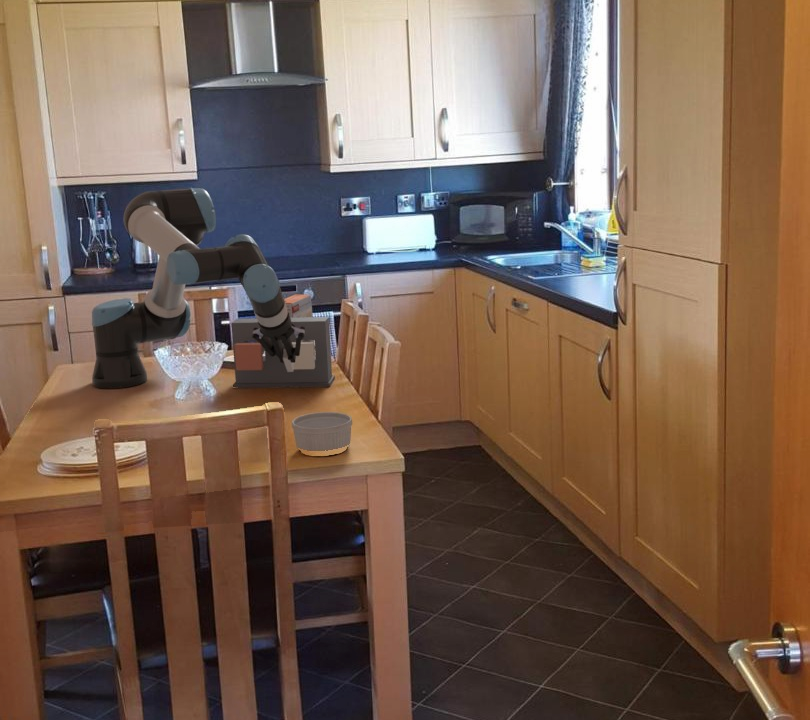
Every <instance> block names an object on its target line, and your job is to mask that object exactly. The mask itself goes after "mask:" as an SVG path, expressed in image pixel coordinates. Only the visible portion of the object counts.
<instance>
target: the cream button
mask: <svg viewBox="0 0 810 720" xmlns="http://www.w3.org/2000/svg"><path fill="white" fill-rule="evenodd" d="M292 345H293V348H294V347H295V346H296V342H292ZM314 351H315V341H314V342H311V341H309V340H305V341H303V342H301V346H300V354H299V356H296V360H295V363H294V369H314V368H315V355H316V354H315V355H314Z"/></svg>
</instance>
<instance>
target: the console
mask: <svg viewBox="0 0 810 720" xmlns="http://www.w3.org/2000/svg"><path fill="white" fill-rule="evenodd" d="M291 322H292V323H293V324H294V325H295V327H296V328H300V327H305V333H304V338H303V339H302V340H314V345H315V368H314V369H294V370H293V372H287V369H286V366H285V363H281V362H280V359H279V357H278V356H276V355H275V356H273V357H272V356H270V355H269V354H268V352H267V351H266V350H265V352H264V355H263V366H264V368H263V369H262V370H236V360H235V347H234V345H235V344H236V343H251V342H254V341H257V340H255V339H254V338H252V336H253V329H254V328H258V329H259V328H260V326H259V324H258V321H257V319H256V317H254V318H236V319H235V320H232V321H231V323H230V324H231V325H230V326H231V338H232V339H231V341H232V351H233V364H234V376H235V377H234V378H235V381H234V382H233V384H232V388H233V387H238V388H237V389H261V388H262V389H266V388H271V389H272V388H273V389H274V388H276V389H277V388H280V389H281V388H330V387H331V386H332V384H333V382H334V380H335V379H336V376H335V375H334V374H333V367H332V353H331V352H332V350H331V331H330V316H319V317H318V316H316V317H315V316H314V317H313V316H312V317H302V318H291ZM269 339H270V338H269ZM290 339H291V342H296V336H295V333H293V334H292V335H291V336H290ZM270 340H271V339H270ZM281 343H282V341H281ZM282 346H284V344H283V343H282ZM284 349H285V347H284V348H283V351H284Z"/></svg>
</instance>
